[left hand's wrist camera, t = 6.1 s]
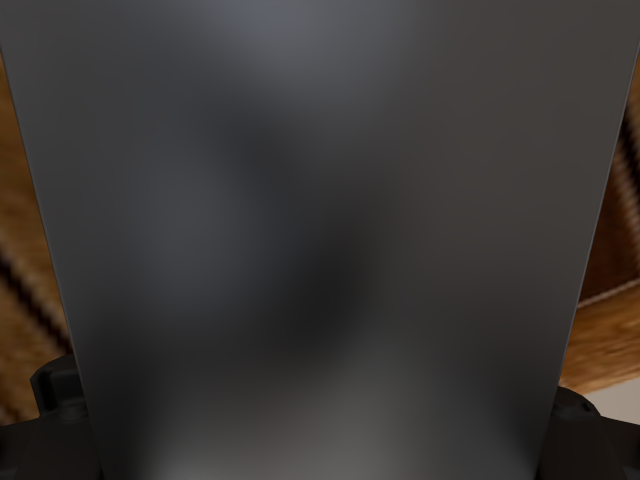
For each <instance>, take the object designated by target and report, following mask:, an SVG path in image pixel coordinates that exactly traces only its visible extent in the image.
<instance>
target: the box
mask: <svg viewBox="0 0 640 480" xmlns="http://www.w3.org/2000/svg"><path fill="white" fill-rule="evenodd" d="M639 50H640V0H0V52H1V56H2V60H3V64H4V68H5V72H6V76H7V80H8V84H9V89H10V93H11V97H12V101H13V105H14V109H15V113H16V117H17V121H18V126H19V130H20V134H21V138H22V142H23V146H24V150H25V154H26V159H27V163H28V167H29V171H30V175H31V179H32V183H33V187H34V191H35V196H36V200H37V204H38V208H39V212H40V216H41V220H42V224H43V228H44V233H45V237H46V241H47V245H48V249H49V253H50V257H51V261H52V266H53V270H54V274H55V278H56V282H57V286H58V290H59V294H60V298H61V303H62V307H63V311H64V315H65V319H66V323H67V327H68V331H69V335H70V340H71V344H72V348H73V352H74V356H75V360H76V364H77V368H78V373H79V377H80V381H81V385H82V389H83V393H84V397H85V401H86V405H87V410H88V414H89V418H90V422H91V426H92V430H93V434H94V438H95V442H96V447H97V451H98V455H99V459H100V463H101V467H102V471H103V475H104V480H535V478H536V474H537V470H538V465H539V461H540V457H541V453H542V449H543V445H544V441H545V437H546V433H547V428H548V424H549V420H550V416H551V412H552V408H553V404H554V400H555V396H556V391H557V387H558V383H559V379H560V375H561V371H562V367H563V363H564V359H565V354H566V350H567V346H568V342H569V338H570V334H571V330H572V326H573V321H574V317H575V313H576V309H577V305H578V301H579V297H580V293H581V289H582V284H583V280H584V276H585V272H586V268H587V264H588V260H589V256H590V252H591V247H592V243H593V239H594V235H595V231H596V227H597V223H598V219H599V215H600V210H601V206H602V202H603V198H604V194H605V190H606V186H607V182H608V177H609V173H610V169H611V165H612V161H613V157H614V153H615V149H616V145H617V140H618V136H619V132H620V128H621V124H622V120H623V116H624V112H625V108H626V103H627V99H628V95H629V91H630V87H631V83H632V79H633V75H634V70H635V66H636V62H637V58H638V54H639Z"/></svg>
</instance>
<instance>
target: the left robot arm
mask: <svg viewBox="0 0 640 480" xmlns="http://www.w3.org/2000/svg"><path fill="white" fill-rule="evenodd" d="M30 382H31V386H32V389H33V392H34V396H35V399H36V403H37V406H38V409H39V413H40V416H39V418H36V419H33V420H29V421H24V422H20V423H15V424H11V425H6V426H2V427H0V480H104V475H103V471H102V467H101V463H100V459H99V455H98V451H97V447H96V442H95V438H94V434H93V430H92V426H91V422H90V418H89V414H88V410H87V405H86V401H85V397H84V393H83V389H82V385H81V381H80V377H79V373H78V368H77V364H76V360H75V356H74V353H73V354H69V355H65V356H62V357H59V358H57V359H55V360H53V361H50V362H48V363H47V364H45V365H44V366H42V367H41V368H40V369H38V370H37V371H36V372H35V373H34V374H33V376H32V377H31V378H30ZM535 480H640V425H638V424H633V423H628V422H624V421H619V420H614V419H610V418H607V417H603V416H601V415H600V413H599V412H598V410H597V409H596V408H595V406H594V405H593V404H592V403H591V402H590V401H588V400H587V399H586V398H585V397H583V396H582V395H580V394H578V393H576V392H574V391H572V390H570V389H567V388H564V387H560V386H558V387H557V391H556V396H555V400H554V404H553V408H552V412H551V416H550V420H549V424H548V428H547V433H546V437H545V441H544V445H543V449H542V453H541V457H540V461H539V465H538V470H537V474H536V478H535Z"/></svg>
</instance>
